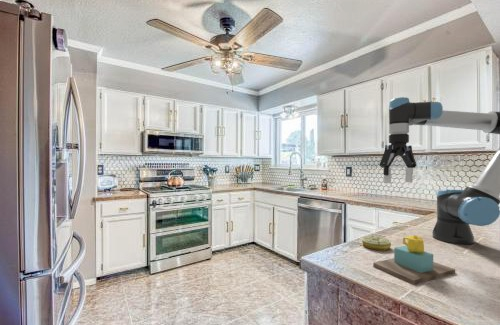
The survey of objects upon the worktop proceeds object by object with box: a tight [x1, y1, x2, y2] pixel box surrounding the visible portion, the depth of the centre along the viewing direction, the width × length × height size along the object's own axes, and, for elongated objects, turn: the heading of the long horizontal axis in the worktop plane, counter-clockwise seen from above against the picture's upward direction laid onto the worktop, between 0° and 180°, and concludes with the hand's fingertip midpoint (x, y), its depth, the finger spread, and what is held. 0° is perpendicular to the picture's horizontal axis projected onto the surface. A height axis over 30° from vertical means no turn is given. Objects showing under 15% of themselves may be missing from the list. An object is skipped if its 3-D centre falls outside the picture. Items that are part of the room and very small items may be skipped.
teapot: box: [402, 235, 425, 254], centre depth 83 cm, size 8×6×5 cm
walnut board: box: [372, 257, 456, 285], centre depth 84 cm, size 20×14×1 cm
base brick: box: [393, 245, 434, 273], centre depth 84 cm, size 6×9×5 cm, turn 23°
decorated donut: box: [361, 235, 392, 252], centre depth 106 cm, size 10×11×4 cm
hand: (398, 182), depth 110 cm, fingers open, 13 cm apart
